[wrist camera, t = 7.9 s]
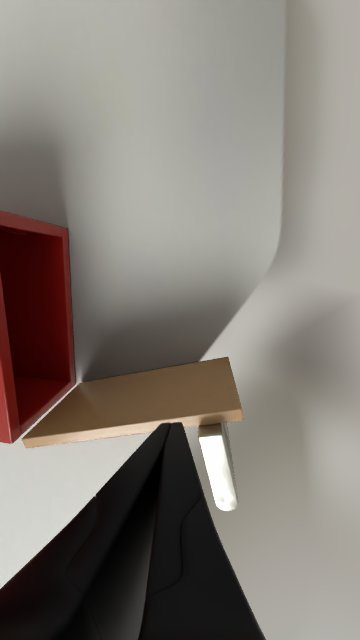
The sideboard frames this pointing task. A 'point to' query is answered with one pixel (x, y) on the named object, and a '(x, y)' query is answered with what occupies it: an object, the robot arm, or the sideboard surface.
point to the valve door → (154, 414)
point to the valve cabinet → (33, 322)
